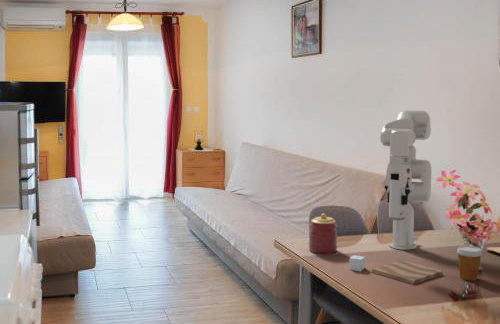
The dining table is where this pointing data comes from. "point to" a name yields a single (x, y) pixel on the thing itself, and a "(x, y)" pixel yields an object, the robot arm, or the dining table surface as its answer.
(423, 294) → the dining table surface
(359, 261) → the grey-blue block
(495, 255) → the dining table surface
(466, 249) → the disposable coffee cup
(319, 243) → the canister
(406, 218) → the robot arm
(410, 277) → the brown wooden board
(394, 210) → the travel mug
